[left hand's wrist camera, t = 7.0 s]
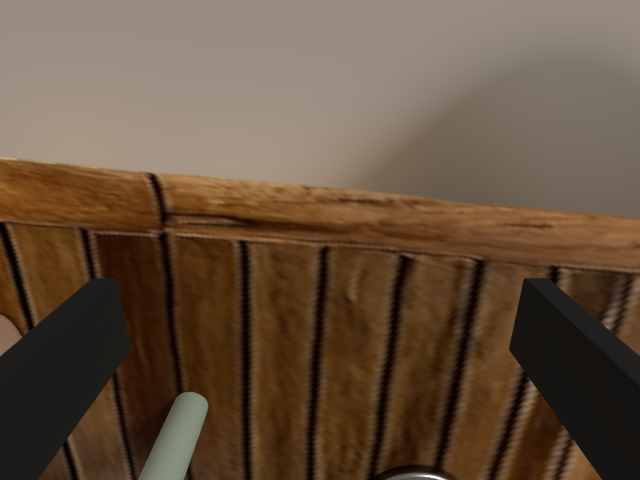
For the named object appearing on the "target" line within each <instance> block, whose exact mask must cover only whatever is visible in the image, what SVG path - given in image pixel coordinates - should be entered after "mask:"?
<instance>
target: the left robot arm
mask: <svg viewBox="0 0 640 480" xmlns="http://www.w3.org/2000/svg"><path fill="white" fill-rule="evenodd" d="M130 350H131V347H130V342H129V338H128V333H127V328H126V323H125V319H124V314H123V309H122V305H121V300H120V295H119V290H118V286H117V281H116V278H92V279H91V280H90V281H88V282H87V283H86V284H85V285H84V286H83V287H81V288H80V289H79V290H78V291H77V292H75V293H74V294H73V295H72V296H71V297H70V298H68V299H67V300H66V301H65V302H64V303H62V304H61V305H60V306H59V307H58V308H57V309H55V310H54V311H53V312H52V313H51V314H49V315H48V316H47V317H46V318H45V319H44V320H42V321H41V322H40V323H39V324H38V325H36V326H35V327H34V328H33V329H32V330H31V331H29V332H28V333H27V334H26V335H25V336H23V337H22V338H21V339H20V340H19V341H18V342H16V343H15V344H14V345H13V346H12V347H10V348H9V349H8V350H7V351H6V352H5V353H3V354H2V355H1V356H0V480H38V479H39V477H40V476H41V474H42V473H43V472H44V470H45V469H46V467H47V466H48V465H49V463H50V462H51V460H52V459H53V458H54V456H55V455H56V453H57V452H58V451H59V449H60V448H61V446H62V445H63V444H64V442H65V441H66V440H67V438H68V437H69V435H70V434H71V433H72V431H73V430H74V428H75V427H76V426H77V424H78V423H79V421H80V420H81V419H82V417H83V416H84V414H85V413H86V412H87V410H88V409H89V407H90V406H91V405H92V403H93V402H94V400H95V399H96V398H97V396H98V395H99V393H100V392H101V391H102V389H103V388H104V386H105V385H106V384H107V382H108V381H109V379H110V378H111V377H112V375H113V374H114V373H115V371H116V370H117V368H118V367H119V366H120V364H121V363H122V361H123V360H124V359H125V357H126V356H127V354H128V353H129V352H130ZM509 350H510V352H511V353H512V354H513V356H514V357H515V359H516V360H517V361H518V363H519V364H520V366H521V367H522V368H523V370H524V371H525V373H526V374H527V375H528V377H529V378H530V379H531V381H532V382H533V384H534V385H535V386H536V388H537V389H538V391H539V392H540V393H541V395H542V396H543V398H544V399H545V400H546V402H547V403H548V405H549V406H550V407H551V409H552V410H553V412H554V413H555V414H556V416H557V417H558V419H559V420H560V421H561V423H562V424H563V426H564V427H565V428H566V430H567V431H568V433H569V434H570V435H571V437H572V438H573V440H574V441H575V442H576V444H577V445H578V446H579V448H580V449H581V451H582V452H583V453H584V455H585V456H586V458H587V459H588V460H589V462H590V463H591V465H592V466H593V467H594V469H595V470H596V472H597V473H598V474H599V476H600V477H601V479H602V480H640V356H639V355H638V354H637V353H635V352H634V351H633V350H632V349H631V348H630V347H628V346H627V345H626V344H625V343H624V342H622V341H621V340H620V339H619V338H618V337H617V336H615V335H614V334H613V333H612V332H611V331H609V330H608V329H607V328H606V327H605V326H604V325H602V324H601V323H600V322H599V321H598V320H596V319H595V318H594V317H593V316H592V315H591V314H589V313H588V312H587V311H586V310H585V309H583V308H582V307H581V306H580V305H579V304H578V303H576V302H575V301H574V300H573V299H572V298H570V297H569V296H568V295H567V294H566V293H565V292H563V291H562V290H561V289H560V288H559V287H557V286H556V285H555V284H554V283H553V282H552V281H550V280H549V279H548V278H524V281H523V286H522V290H521V295H520V300H519V305H518V309H517V314H516V319H515V323H514V328H513V333H512V338H511V342H510V347H509ZM374 480H457V479H456V478H455V477H453V476H452V475H450V474H449V473H447V472H445V471H443V470H440V469H437V468H433V467H427V466H407V467H401V468H397V469H394V470H390V471H388V472H386V473H384V474H382V475H380V476H378V477H377V478H375V479H374Z"/></svg>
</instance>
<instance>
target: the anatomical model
mask: <svg viewBox="0 0 640 480" xmlns="http://www.w3.org/2000/svg"><path fill="white" fill-rule="evenodd" d="M21 338H22V336H21V335H20V333H19V331H18V330H17V328H16V327H15V326H14V325H13V323H12V322H11V321H10V320H9V319H8V318H6V317H5V316H3V315H0V356H1V355H2V354H3V353H5V352H6V351H7V350H8V349H9V348H10V347H12V346H13V345H14V344H15V343H16V342H18V341H19V340H20V339H21Z"/></svg>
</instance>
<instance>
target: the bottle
mask: <svg viewBox="0 0 640 480" xmlns="http://www.w3.org/2000/svg"><path fill="white" fill-rule="evenodd" d="M207 411H208V403H207V401H206V399H205V398H204V397H203V396H201V395H200V394H197V393H194V392H185V393H182V394H180V395H179V396H177V397H176V399H175V401H174V403H173V405H172V408H171V410H170V412H169V414H168V416H167V418H166V421H165V423H164V425H163V427H162V429H161V431H160V434H159V436H158V438H157V440H156V442H155V444H154V447H153V449H152V451H151V453H150V455H149V457H148V460H147V462H146V464H145V466H144V468H143V470H142V473H141V475H140V477H139V479H138V480H184V477H185V474H186V471H187V468H188V466H189V463H190V460H191V457H192V454H193V451H194V448H195V445H196V442H197V440H198V437H199V434H200V431H201V428H202V425H203V422H204V419H205V416H206V414H207Z"/></svg>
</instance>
